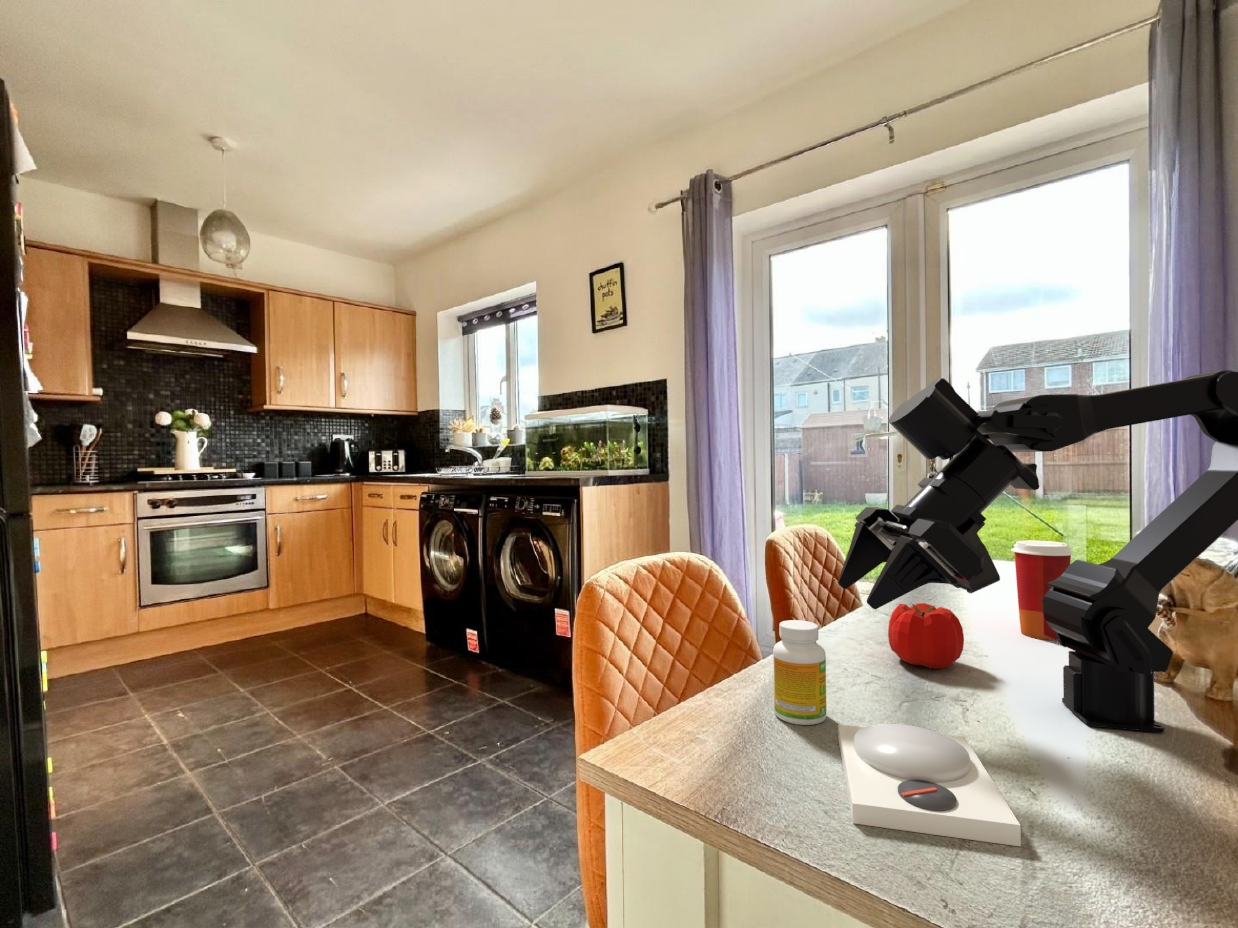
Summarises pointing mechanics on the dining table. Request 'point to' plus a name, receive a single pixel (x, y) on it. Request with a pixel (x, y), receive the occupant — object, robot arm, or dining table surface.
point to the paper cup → (1037, 582)
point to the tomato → (925, 635)
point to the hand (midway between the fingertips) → (854, 595)
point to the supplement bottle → (799, 674)
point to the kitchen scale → (922, 784)
